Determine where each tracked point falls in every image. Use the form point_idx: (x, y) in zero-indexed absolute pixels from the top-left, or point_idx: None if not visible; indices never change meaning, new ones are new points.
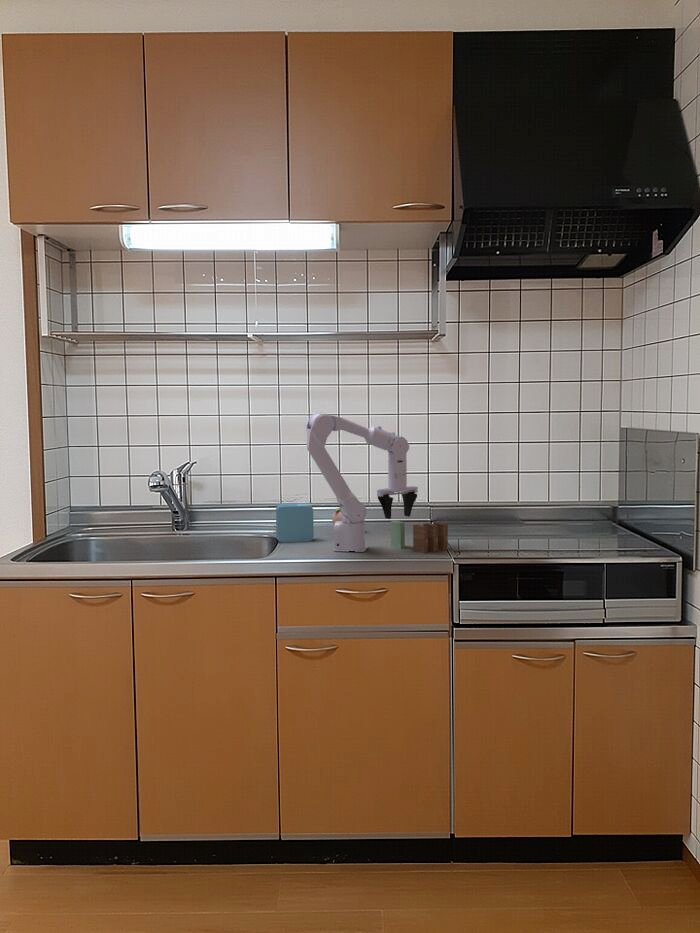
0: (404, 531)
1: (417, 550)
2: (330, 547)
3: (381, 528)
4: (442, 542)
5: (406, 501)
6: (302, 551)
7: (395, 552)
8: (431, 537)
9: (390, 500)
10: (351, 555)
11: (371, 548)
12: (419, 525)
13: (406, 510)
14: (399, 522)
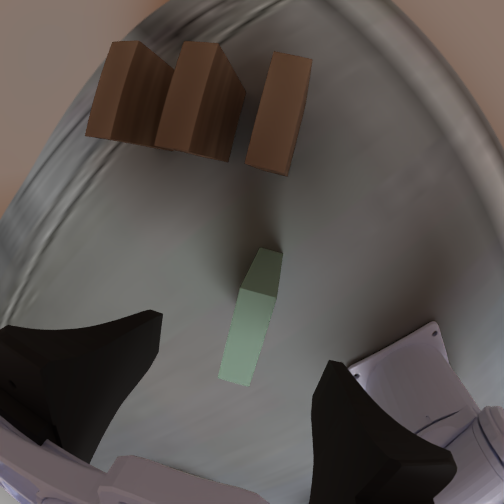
0: (250, 269)
1: (295, 144)
2: None
3: None
4: None
5: (100, 402)
6: None
7: (368, 219)
8: (230, 87)
9: (407, 449)
10: (483, 316)
11: (353, 348)
12: (271, 121)
13: (140, 356)
14: (258, 319)
